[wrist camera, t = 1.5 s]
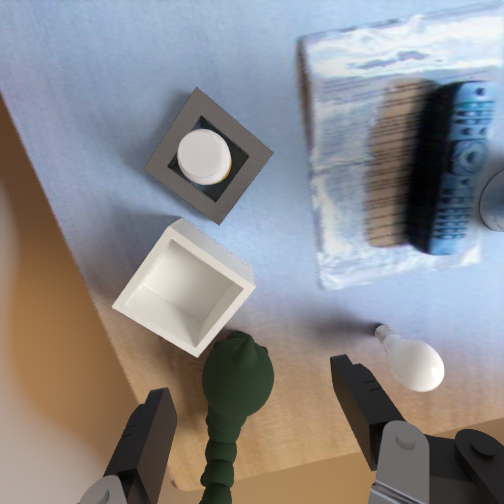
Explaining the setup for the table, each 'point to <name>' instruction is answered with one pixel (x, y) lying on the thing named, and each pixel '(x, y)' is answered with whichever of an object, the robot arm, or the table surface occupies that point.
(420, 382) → the lightbulb
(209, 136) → the supplement bottle
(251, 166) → the socket collar
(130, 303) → the bin
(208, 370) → the toy figurine
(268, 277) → the table surface
